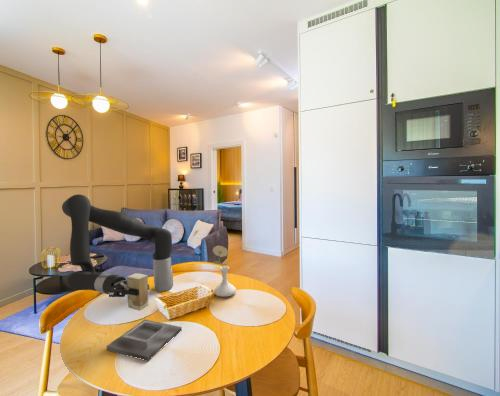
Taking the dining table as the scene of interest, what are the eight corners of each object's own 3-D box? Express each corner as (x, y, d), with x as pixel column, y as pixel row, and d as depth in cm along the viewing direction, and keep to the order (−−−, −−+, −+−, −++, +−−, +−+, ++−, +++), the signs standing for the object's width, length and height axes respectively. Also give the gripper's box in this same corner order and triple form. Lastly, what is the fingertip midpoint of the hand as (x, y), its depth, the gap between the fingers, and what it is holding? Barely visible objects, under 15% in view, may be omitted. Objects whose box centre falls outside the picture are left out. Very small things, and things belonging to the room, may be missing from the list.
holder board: (145, 322, 105) (144, 314, 105) (181, 330, 99) (181, 321, 99) (106, 350, 88) (106, 340, 88) (148, 361, 82) (147, 351, 82)
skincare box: (127, 308, 96) (126, 276, 95) (136, 303, 100) (135, 272, 99) (140, 311, 93) (138, 278, 93) (149, 305, 97) (147, 274, 97)
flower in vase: (240, 292, 132) (239, 244, 131) (227, 300, 123) (225, 250, 121) (221, 287, 139) (219, 242, 138) (207, 295, 130) (205, 247, 128)
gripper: (92, 281, 94) (127, 287, 88) (124, 269, 108) (156, 273, 102) (94, 301, 95) (128, 308, 89) (125, 286, 108) (157, 292, 102)
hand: (143, 289), depth 95 cm, fingers closed on skincare box, 4 cm apart
